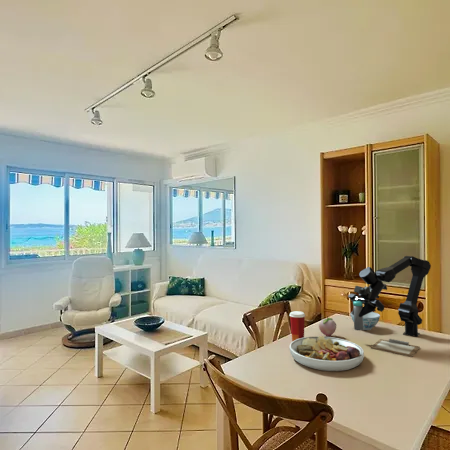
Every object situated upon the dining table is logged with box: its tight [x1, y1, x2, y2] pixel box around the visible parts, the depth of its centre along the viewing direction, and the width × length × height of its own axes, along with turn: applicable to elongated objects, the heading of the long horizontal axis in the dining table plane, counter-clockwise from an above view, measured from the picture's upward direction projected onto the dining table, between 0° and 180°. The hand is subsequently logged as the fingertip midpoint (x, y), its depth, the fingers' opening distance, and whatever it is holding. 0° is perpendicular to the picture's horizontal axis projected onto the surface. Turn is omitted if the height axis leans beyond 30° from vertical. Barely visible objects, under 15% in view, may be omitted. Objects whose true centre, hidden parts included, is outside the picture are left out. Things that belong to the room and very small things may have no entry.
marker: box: [352, 301, 364, 331], centre depth 158 cm, size 4×4×13 cm
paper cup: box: [289, 310, 306, 342], centre depth 162 cm, size 8×8×14 cm
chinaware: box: [349, 311, 381, 331], centre depth 181 cm, size 15×15×8 cm
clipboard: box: [370, 338, 421, 358], centre depth 150 cm, size 14×17×2 cm
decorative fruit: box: [318, 316, 337, 337], centre depth 168 cm, size 9×8×10 cm
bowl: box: [289, 335, 365, 372], centre depth 139 cm, size 30×30×8 cm
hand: (355, 315), depth 157 cm, fingers closed on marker, 4 cm apart
